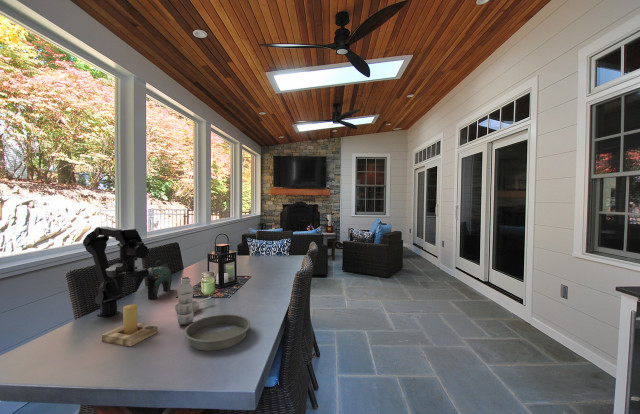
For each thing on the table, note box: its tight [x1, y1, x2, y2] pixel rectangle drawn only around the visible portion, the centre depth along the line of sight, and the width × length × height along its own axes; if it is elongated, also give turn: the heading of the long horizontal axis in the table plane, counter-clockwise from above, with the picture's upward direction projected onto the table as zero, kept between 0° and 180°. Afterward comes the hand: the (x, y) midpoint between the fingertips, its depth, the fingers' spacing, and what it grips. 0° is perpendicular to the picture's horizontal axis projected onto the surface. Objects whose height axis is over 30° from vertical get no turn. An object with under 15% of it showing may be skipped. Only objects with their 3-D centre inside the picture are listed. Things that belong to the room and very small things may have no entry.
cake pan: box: [183, 313, 251, 352], centre depth 111 cm, size 25×25×4 cm
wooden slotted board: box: [101, 322, 159, 347], centre depth 111 cm, size 14×12×3 cm
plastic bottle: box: [176, 276, 195, 326], centre depth 123 cm, size 6×7×20 cm
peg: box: [122, 303, 139, 335], centre depth 111 cm, size 5×5×12 cm
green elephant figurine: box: [145, 260, 173, 300], centre depth 161 cm, size 20×6×20 cm, turn 179°
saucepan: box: [174, 296, 212, 314], centre depth 139 cm, size 11×18×4 cm, turn 143°
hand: (127, 290), depth 126 cm, fingers open, 9 cm apart
